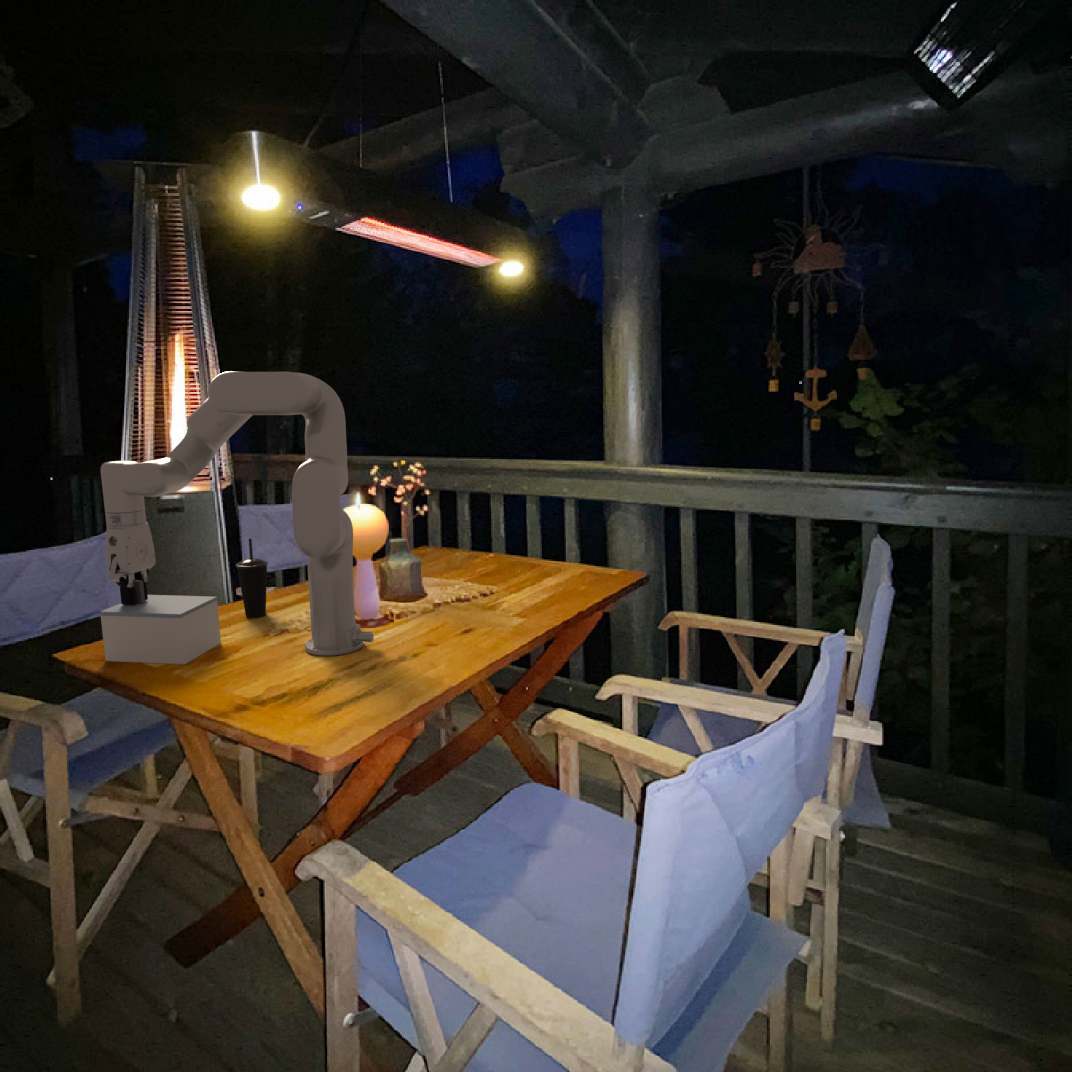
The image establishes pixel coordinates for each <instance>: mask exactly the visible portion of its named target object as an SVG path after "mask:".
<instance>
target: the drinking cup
mask: <svg viewBox="0 0 1072 1072" xmlns="http://www.w3.org/2000/svg"><path fill="white" fill-rule="evenodd" d="M252 540H253V539H252V538H248V547H249V558H246V559H243V560H241V561H239V562H237V563H236V564H235V567H236V569H237V575H238V580H239V586H240V591H241V596H242V603H243V608H244V609H243V610H244V615H245V617H246V618H250V619H257V618H261V617H264V616H266V613H267V579H268V577H267V575H268V565H269V562H268V561H266V560H263V559H261V558H254V556H253V543H252V542H253V541H252Z"/></svg>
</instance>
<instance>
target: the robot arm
mask: <svg viewBox="0 0 1072 1072" xmlns="http://www.w3.org/2000/svg"><path fill="white" fill-rule="evenodd" d="M207 393H208V397H207V398H206V399H205V400H204V401H203V402H202V403H201V404H200V405H199V406H198V407H197V408H196V409H195V410H194V411H193V412H192V413H191V414H190V415H189V416H188V417H187V419H186V427H187V431H186V434H185V436H184V437H183V439H181V441H180V442H179V443H178V444H177V445H176V447H174V449H172V450H171V451H170V452H169V453H168V454H167V455H166V456H165V457H163V458H158V459H153V460H148V461H142V462H137V461H134V460H115V461H113V460H112V461H106V462H104V463H102V464H101V466H100V477H101V478H100V479H101V487H102V495H103V496H102V497H103V505H104V513H105V522H106V533H105V553H106V554H105V555H106V564H107V565H106V566H107V569H108V572H109V574H108V580H110V581H113V582H114V583H116V585H117V587H118V588H119V592H120V593H119V594H120V602H121V603H122V605H136V604H137V601H136V591H135V587H132V586H133V580H143V585H144V595H145V600H147V599H148V595H149V594H148V586H147V582H148V580H149V577H148V575H149V573H150V571H151V570H152V568H153V566H155V564H156V563H157V562H156V554H155V547H154V540H153V536H152V532H151V529H150V525H149V523H148V522H147V515H146V505H145V504H146V503H145V497H149V498H150V497H151V498H156V497H161V496H165V495H167V494H171V493H175V492H178V491H181V490H182V489H184V488H186V486H188V485H189V484H190V483H191V482H192V481H193V480H195V478H197V476H198V475H199V474H201V473H202V471H203V470H204V469H206V467H207V466H209V464H210V463H211V461H212V460H213V459H214V457H215V456H216V454H218V452H219V450H220V448H221V447H222V446H223V445H224V444H225V443H226V442H227V441H228V440H229V439H230V438H231V437H232V436H233V435H234V434H235V433H236V432H237V431H238V430H240V428H242V426H243V425H244V424H245V423H246V422H247V421H248V420H249V419H250V418H252V417H253V416H294V415H295V416H297V415H301V416H303V418H304V421H305V429H304V447H305V451H304V452H305V460H304V461H303V462H302V464H300V465H299V467H298V468H297V469H296V471H295V472H294V474H293V478H292V483H291V498H292V499H291V500H292V501H291V502H292V505H291V506H292V530H293V538H294V543H295V544H296V547H297V548H298V549H299V550H300V552H301V553H303V555H305V556H307V578H308V579H307V581H308V582H307V583H308V594H309V595H308V596H309V611H310V612H309V613H310V627H311V628H310V629H311V638H310V639H309V640H307V641H306V642H305V644H304V649H305V651H306V653H308V654H310V655H316V656H323V657H324V656H325V657H327V656H330V657H331V656H340V655H346V654H351V653H353V652H356V651H358V650H359V649H361V648H362V647H363V646H364V644H365V643H373V641H374V639H375V638H374V637H375V636H374V635H375V634H374V633H373V631H371V630H362V629H361V624H359V623H358V624H357V623H356V610H355V609H356V608H355V606H356V605H355V588H354V566H353V565H354V564H353V563H354V562H353V561H354V560H353V559H354V557H353V554H354V553H353V551H354V550H353V549H354V527H353V523H352V520H351V518H350V516H349V514H348V513H347V512H346V511H345V510H344V509H342V508H341V496H342V495H343V494H344V493H345V492H346V490H347V487H348V484H349V472H348V471H349V470H348V451H347V450H348V446H347V430H346V429H347V427H346V415H345V408H344V406H343V403H342V401H341V399H340V397H339V396H338V394H337V392H336V391H335V390H334V389H333V387H331V386H330V385H329V384H327V382H325V381H323V380H321V379H320V378H317V377H315V376H313V375H312V374H311V375H310V374H307V373H304V372H303V373H302V372H292V371H232V370H230V371H224V372H222V373H219V374H217V375H216V376H214V378H213V379H212V380H211V382H210V384H209V387H208V391H207ZM125 577H126V578H125Z"/></svg>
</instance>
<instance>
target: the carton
mask: <svg viewBox="0 0 1072 1072" xmlns="http://www.w3.org/2000/svg"><path fill="white" fill-rule="evenodd" d="M218 604H219V603H218V600H217V601H215V602H212V603H210V604H208V605H206V606H204V607H202V608H200V609H198V610H196V611H194V612H192V613H190V614H188V615H186V616H184V617H182V618H167V617H137V616H106V615H100V623H101V631H102V640H103V648H104V657H105V661H106V662H118V663H119V662H120V663H121V662H122V663H141V664H142V663H146V664H147V663H149V664H167V665H169V664H171V665H173V664H174V665H186V664H188V663H190V662H191V661H193V660H195V659H196V658H198V657H200V656H202V655H203V654H204V653H206V652H208V651H210V650H211V649H213V648H215V647H216V646H219V645H220V644H221V643H222V640H221V630H220V628H221V627H220V617H219V607H218Z"/></svg>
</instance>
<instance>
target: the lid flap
mask: <svg viewBox="0 0 1072 1072" xmlns="http://www.w3.org/2000/svg"><path fill="white" fill-rule="evenodd" d="M132 587H135V591H136V601H137V604H136V605H122V603H118V604H116V605H113V606H110V607H109V608H105V609H103V610H101V611H100V612H99V614H100V616H101V615H106V616H137V617H167V618H182V617H184V616H186V615H188V614H190V613H192V612H194V611H196V610H198V609H200V608H202V607H204V606H206V605H208V604H210V603H212V602H215V601H217V602H218V596H207V595H206V596H205V595H204V596H203V595H202V596H200V595H168V594H167V595H164V594H147V595H148V599H147V600H145V595H144V585H143V580H133V586H132Z"/></svg>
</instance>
